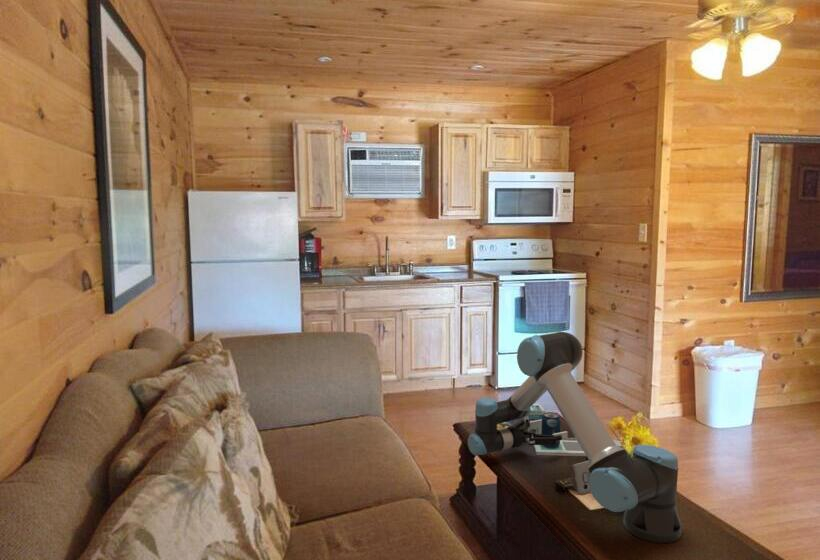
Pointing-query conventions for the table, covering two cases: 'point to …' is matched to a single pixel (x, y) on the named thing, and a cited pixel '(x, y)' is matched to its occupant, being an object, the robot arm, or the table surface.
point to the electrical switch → (580, 477)
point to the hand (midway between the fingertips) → (554, 428)
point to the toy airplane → (503, 425)
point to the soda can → (551, 426)
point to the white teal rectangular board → (562, 448)
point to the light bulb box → (535, 416)
